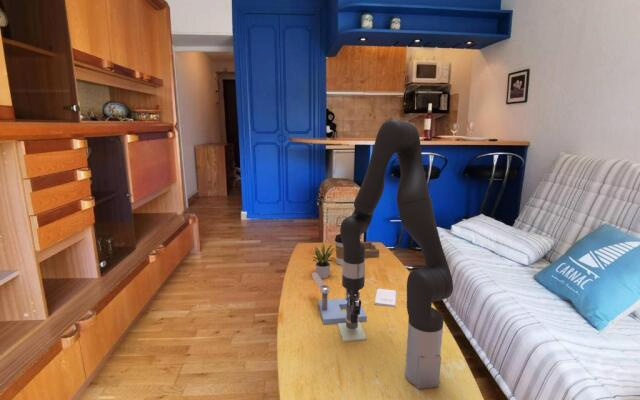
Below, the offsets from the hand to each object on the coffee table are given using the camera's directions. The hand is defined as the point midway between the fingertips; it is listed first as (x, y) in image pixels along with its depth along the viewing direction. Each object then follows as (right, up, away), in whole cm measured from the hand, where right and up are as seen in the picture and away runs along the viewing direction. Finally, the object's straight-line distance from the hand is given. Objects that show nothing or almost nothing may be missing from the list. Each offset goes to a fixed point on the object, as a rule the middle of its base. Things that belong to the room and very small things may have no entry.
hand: (352, 318), depth 121 cm
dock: (-3, -2, +13) cm, 14 cm away
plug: (0, -3, +1) cm, 3 cm away
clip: (-11, +8, +16) cm, 21 cm away
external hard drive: (+16, -1, +24) cm, 29 cm away
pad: (0, -5, +1) cm, 5 cm away
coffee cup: (+1, +8, +60) cm, 61 cm away
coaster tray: (+13, +11, +73) cm, 75 cm away
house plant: (-8, +5, +45) cm, 46 cm away
